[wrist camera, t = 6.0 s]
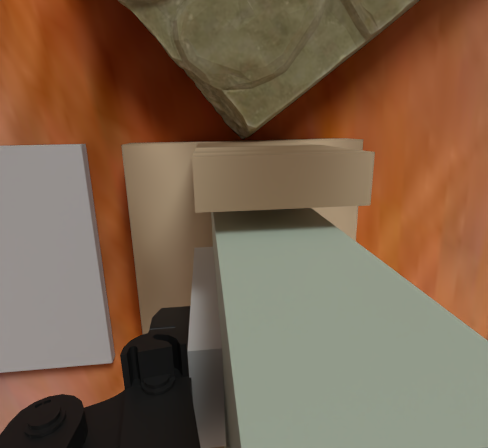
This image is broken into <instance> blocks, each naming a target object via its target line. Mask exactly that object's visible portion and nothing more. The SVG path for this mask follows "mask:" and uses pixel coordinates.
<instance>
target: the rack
mask: <svg viewBox="0 0 488 448" xmlns="http://www.w3.org/2000/svg"><path fill="white" fill-rule="evenodd" d="M121 146H122V155H123V164H124V173H125V181H126V190H127V199H128V208H129V217H130V226H131V235H132V244H133V253H134V262H135V271H136V280H137V289H138V298H139V307H140V316H141V325H142V333H143V334H146V333H148V332H149V330H150V324H151V320H152V317H153V316H154V315H155V314H156V313H157V312H158V311H159V310H160V309H161V308H169V307H183V306H191V291H192V276H193V261H194V248H198V247H213V240H212V217H211V212H227V211H250V210H273V209H296V208H312V209H313V210H315V211H316V212H317V213H319V214H320V215H321V216H323V217H324V218H325V219H327V220H328V221H329V222H331V223H332V224H333V225H335V226H336V227H337V228H339V229H340V230H341V231H343V232H344V233H345V234H347V235H348V236H349V237H351V238H352V239H353V240H355V241H356V229H357V215H358V206H365V205H370V202H371V190H372V179H373V167H374V155H375V152H370V151H362V149H363V140H362V139H347V138H337V139H291V140H246V141H200V142H155V143H129V144H124V145H121ZM213 448H224V446H221V447H213Z"/></svg>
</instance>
